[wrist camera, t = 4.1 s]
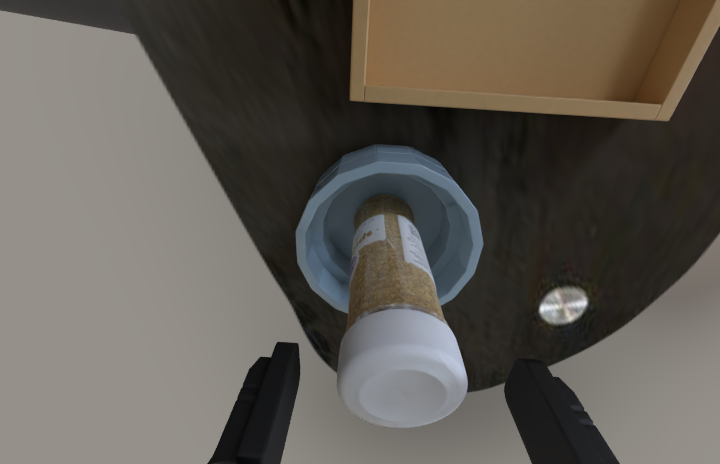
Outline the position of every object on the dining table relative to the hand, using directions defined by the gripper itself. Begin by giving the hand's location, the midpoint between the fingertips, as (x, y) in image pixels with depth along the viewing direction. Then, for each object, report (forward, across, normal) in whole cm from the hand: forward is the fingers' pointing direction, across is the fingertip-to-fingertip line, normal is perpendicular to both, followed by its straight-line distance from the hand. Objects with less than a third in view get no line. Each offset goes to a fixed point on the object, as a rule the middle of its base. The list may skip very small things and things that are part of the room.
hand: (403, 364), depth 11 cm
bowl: (+13, 0, 0) cm, 13 cm away
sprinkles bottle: (+12, 0, 0) cm, 13 cm away
